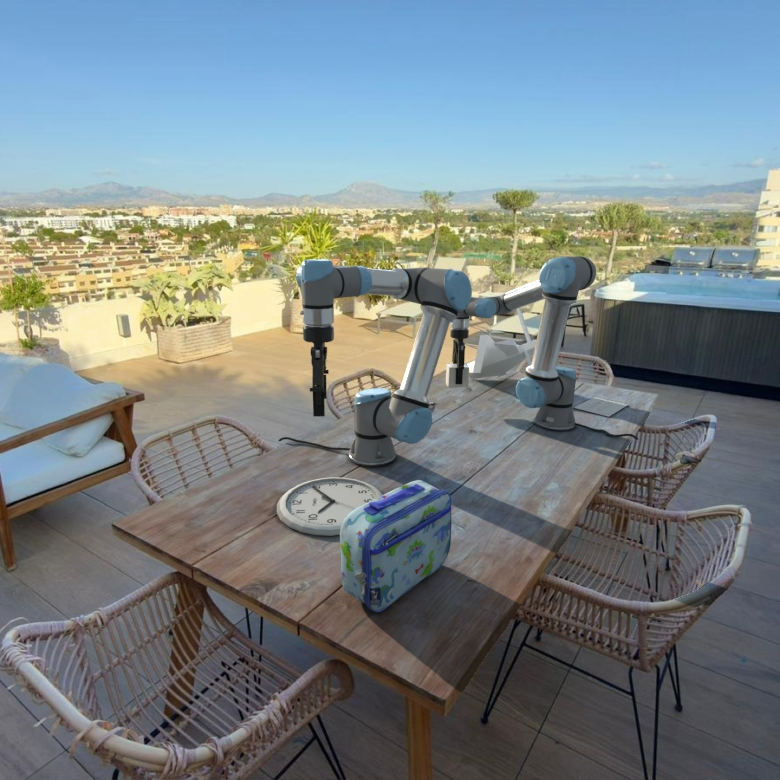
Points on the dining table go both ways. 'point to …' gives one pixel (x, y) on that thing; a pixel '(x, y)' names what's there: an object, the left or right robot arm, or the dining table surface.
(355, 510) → the lunch box
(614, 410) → the invitation card
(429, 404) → the fork
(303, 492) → the wall clock
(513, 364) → the white plastic object
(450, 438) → the dining table surface
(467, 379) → the brick
